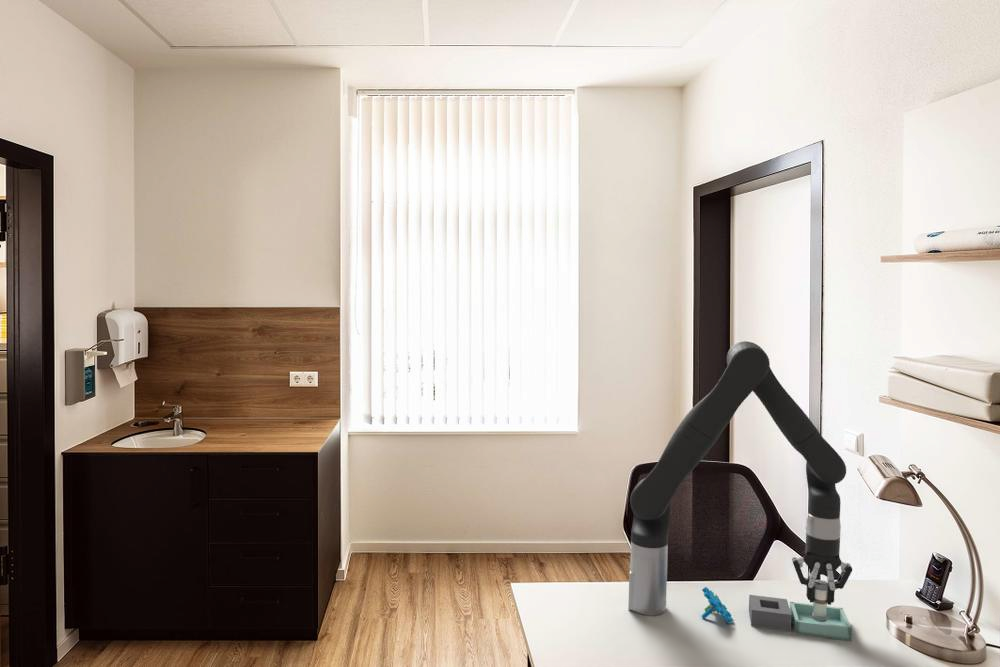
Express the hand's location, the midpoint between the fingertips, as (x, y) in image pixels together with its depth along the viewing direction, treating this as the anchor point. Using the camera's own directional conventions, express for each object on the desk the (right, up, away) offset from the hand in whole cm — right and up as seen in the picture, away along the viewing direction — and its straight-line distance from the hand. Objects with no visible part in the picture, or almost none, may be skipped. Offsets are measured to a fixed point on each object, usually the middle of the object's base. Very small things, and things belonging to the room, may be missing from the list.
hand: (820, 602), depth 173 cm
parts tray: (0, -6, 0) cm, 6 cm away
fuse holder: (-11, -6, +4) cm, 13 cm away
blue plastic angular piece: (-24, -6, +4) cm, 25 cm away
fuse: (0, -4, 0) cm, 4 cm away
